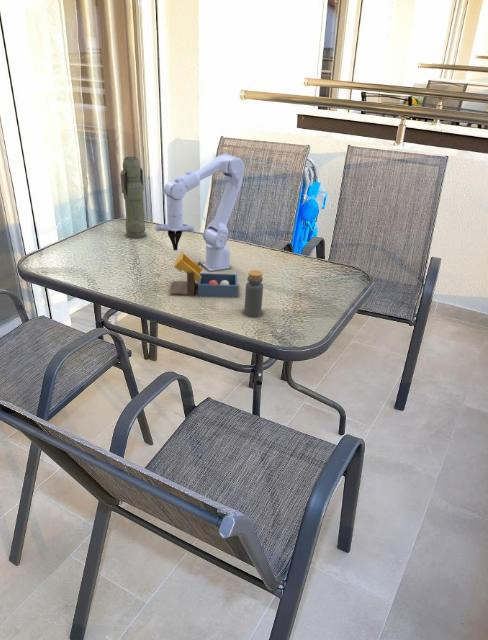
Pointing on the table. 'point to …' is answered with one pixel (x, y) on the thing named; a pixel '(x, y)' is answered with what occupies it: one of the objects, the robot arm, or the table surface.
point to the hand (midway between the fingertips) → (175, 249)
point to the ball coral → (213, 282)
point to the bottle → (254, 294)
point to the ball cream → (224, 282)
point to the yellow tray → (188, 266)
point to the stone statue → (133, 197)
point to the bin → (217, 289)
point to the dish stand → (184, 286)
